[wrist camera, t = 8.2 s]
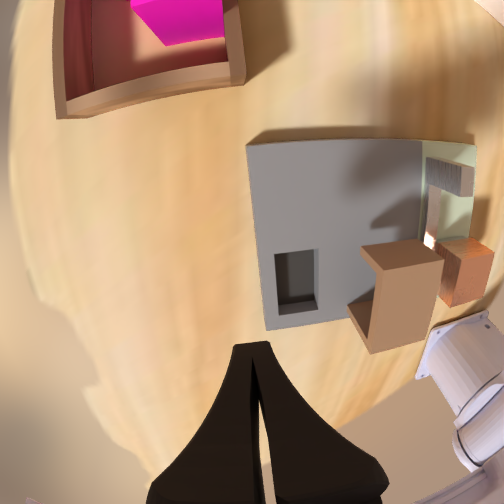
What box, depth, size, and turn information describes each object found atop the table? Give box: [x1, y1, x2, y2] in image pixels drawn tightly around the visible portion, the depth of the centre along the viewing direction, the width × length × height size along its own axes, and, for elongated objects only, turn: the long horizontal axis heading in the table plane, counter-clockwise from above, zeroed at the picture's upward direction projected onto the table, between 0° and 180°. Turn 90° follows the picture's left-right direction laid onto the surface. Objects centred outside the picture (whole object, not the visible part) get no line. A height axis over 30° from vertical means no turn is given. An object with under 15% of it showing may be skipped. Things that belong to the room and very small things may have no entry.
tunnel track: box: [246, 138, 477, 354], centre depth 18 cm, size 18×13×6 cm
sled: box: [420, 157, 495, 308], centre depth 17 cm, size 8×10×4 cm
